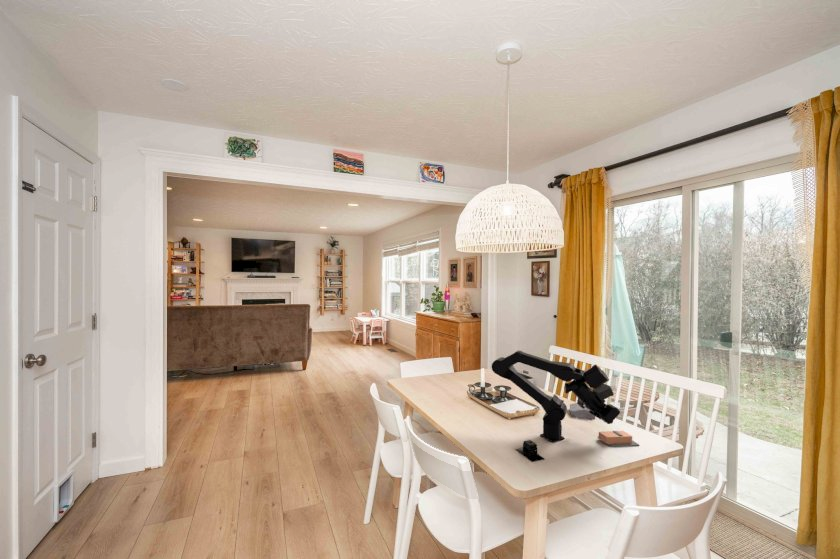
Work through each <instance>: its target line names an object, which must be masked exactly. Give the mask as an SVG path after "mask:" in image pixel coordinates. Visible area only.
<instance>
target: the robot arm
mask: <svg viewBox="0 0 840 559" xmlns="http://www.w3.org/2000/svg"><path fill="white" fill-rule="evenodd" d="M517 363H520V364H523V365H527V366H530V367H533V368H534V369H535V368H536V369H538V370H540V371H541V370H542V371H544V372H548V373H550V374H551V375H552V376H554V377H555V378H557V379H559V380H561V381H563V382H565V383H564V387H563V388H564V392H565V394H569V393H570V392H572V393H573V394H574V395H575V397H577V400H576V403H577V404H578V405H579V406H580V407H581V408H583V409H584V408H585V407H586V408H587V409H588V410H590V411H589V413H591V414H592V415H594V416H595V418H598V419H599V420H601V421H603V422H604V423H606V424H607V425H611V424H613V423H614V420H615V419H617V417H618V416H619V415H620V414H621V410H620V409H619V408H618V407H616V406H614V404H606V399H608V398H610V397H613V396H614V394H615V393H614V391H613V389H612V386H610V385H608V384H607V382H609V381H610V378H609V377H608V375H607V374H606V372H605V371H604V370H602V369H601V368H600V367H599V366H598V365H597V364H594V365H592V366H591V367H590V368H588V369H587V370H583V369H580V368H578V367H575V365H573V364H572V363H570V362H563V361H553V360H549V359H546V358H543V357H540V356H539V357H538V356H536V355H533V354H530V353H527V352H524V351H522V350H516V351H515V352H514V353H512V354H509V355H508V356H506V357H504V356H503V357H499V358H496V359H495V360H493V362H492V363H491V370H492V372H493V373H494V374H495V375H498V376H499V377H501V378H503V379H506V380H508V381H511V382H512V383H513V384H514V385H516V387H517V388H519V389H520V390H522V391H523V392H524V393H526V394H527V395H528V396H529V397H530V398H531V399H533V400H534V401H536V402H537V404H539V405H540V406H541V408H542V409H543V411H544V412H545V413H544V415H543V417H542V424H543V425H542V426H543V429H542V431H543V432H542V433H540V434H539V436H540V437H542V438H544V439H546V440H547V441H549V442H552V443H556V442H558V441H559V442H560V441H562V440H565V437H564V436H562V431H563V430H562V428H563V427H562V426H563V425H562V421H563V420H565V417H566V415H567V413H568V408H567V405H566V403H565V401H564V400H563V399H561V398H560V397H559V396H558V395H556V394H554V395H553V396H551V395H548V394H547V393H545V392H544V391H543V390H541V389H540V387H538V386H536V384H534V383H533V382H532V381H530V380H528V379H527V377H525V376H524V375H522V374H521V373H520V372H518V370H516V368H515V367H514V365H516V364H517ZM583 405H585V407H584V406H583Z"/></svg>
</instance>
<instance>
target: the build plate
mask: <svg viewBox="0 0 840 559" xmlns="http://www.w3.org/2000/svg"><path fill="white" fill-rule="evenodd" d="M515 451H517V453H519V454H520V455H522V456H524V457H525V458H526V459H528V461H530V462H531V463H534V462H539V461H543V460H546V458H544V457H543V456H541V455H540V454H539V453H538V445H537V443H536V442H534V441H532V440H531V439H527V440H523V443H522V448H515Z"/></svg>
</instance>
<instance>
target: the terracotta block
mask: <svg viewBox="0 0 840 559" xmlns="http://www.w3.org/2000/svg"><path fill="white" fill-rule="evenodd" d="M598 436H599V438H598V440H600V441H602V442H603V443H605V444H606V445H608V444H622V443H632V440H633V435H631V434H629V433H628V432H626V431H624V430H607V431H606V430H605V431H598Z"/></svg>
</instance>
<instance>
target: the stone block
mask: <svg viewBox="0 0 840 559" xmlns="http://www.w3.org/2000/svg"><path fill="white" fill-rule="evenodd" d="M583 406H584V407H585V405H583ZM569 411H570V414H571V416H572V417H574V418H576V417H578V418H577V419H585V418H588V420H595V419H596V416H594V415H592V414H591V413H589V411H590V410H588V409H587V408H586V407H585V408H584V409H583V408H581V407H580V406H579V405H578V404H577V402H575V403H570V404H569Z"/></svg>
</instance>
